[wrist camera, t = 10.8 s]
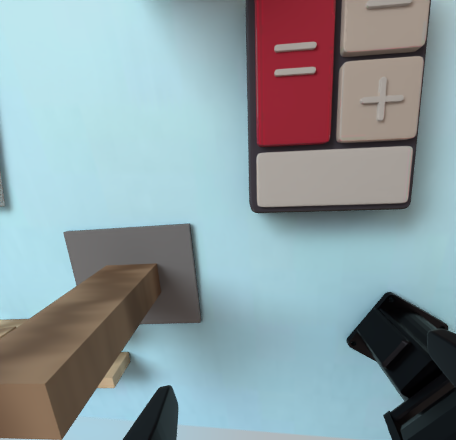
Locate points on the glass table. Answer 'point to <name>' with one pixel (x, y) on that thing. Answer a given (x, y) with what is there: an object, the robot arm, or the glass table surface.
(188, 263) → the charcoal mat
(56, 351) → the walnut block
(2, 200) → the hard drive
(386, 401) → the glass table surface
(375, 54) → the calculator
